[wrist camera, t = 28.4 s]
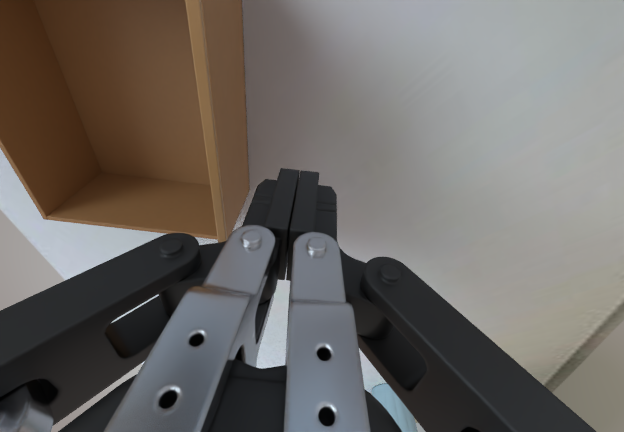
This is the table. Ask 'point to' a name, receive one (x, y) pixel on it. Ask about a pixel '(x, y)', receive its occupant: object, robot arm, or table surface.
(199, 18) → the flap
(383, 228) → the table surface
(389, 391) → the cup
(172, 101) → the carton
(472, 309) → the table surface
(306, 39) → the table surface
